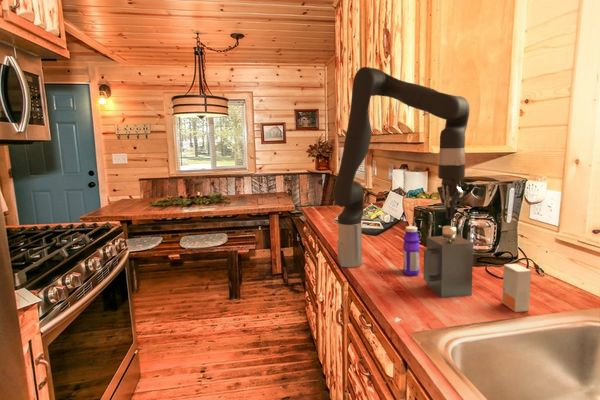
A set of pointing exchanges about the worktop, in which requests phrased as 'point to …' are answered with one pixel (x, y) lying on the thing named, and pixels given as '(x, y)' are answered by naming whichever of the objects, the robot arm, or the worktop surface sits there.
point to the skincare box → (516, 287)
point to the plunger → (449, 232)
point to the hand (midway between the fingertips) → (450, 218)
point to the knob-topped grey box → (448, 266)
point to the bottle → (411, 251)
